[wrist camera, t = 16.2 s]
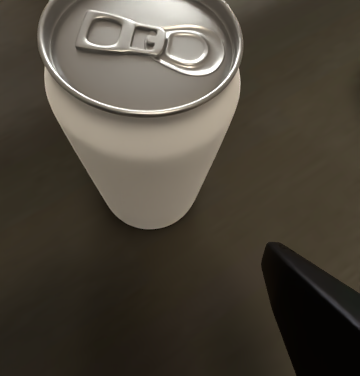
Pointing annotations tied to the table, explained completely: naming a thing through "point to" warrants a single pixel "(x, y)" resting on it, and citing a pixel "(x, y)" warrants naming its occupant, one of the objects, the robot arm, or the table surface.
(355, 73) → the table surface
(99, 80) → the can
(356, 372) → the robot arm
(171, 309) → the table surface
